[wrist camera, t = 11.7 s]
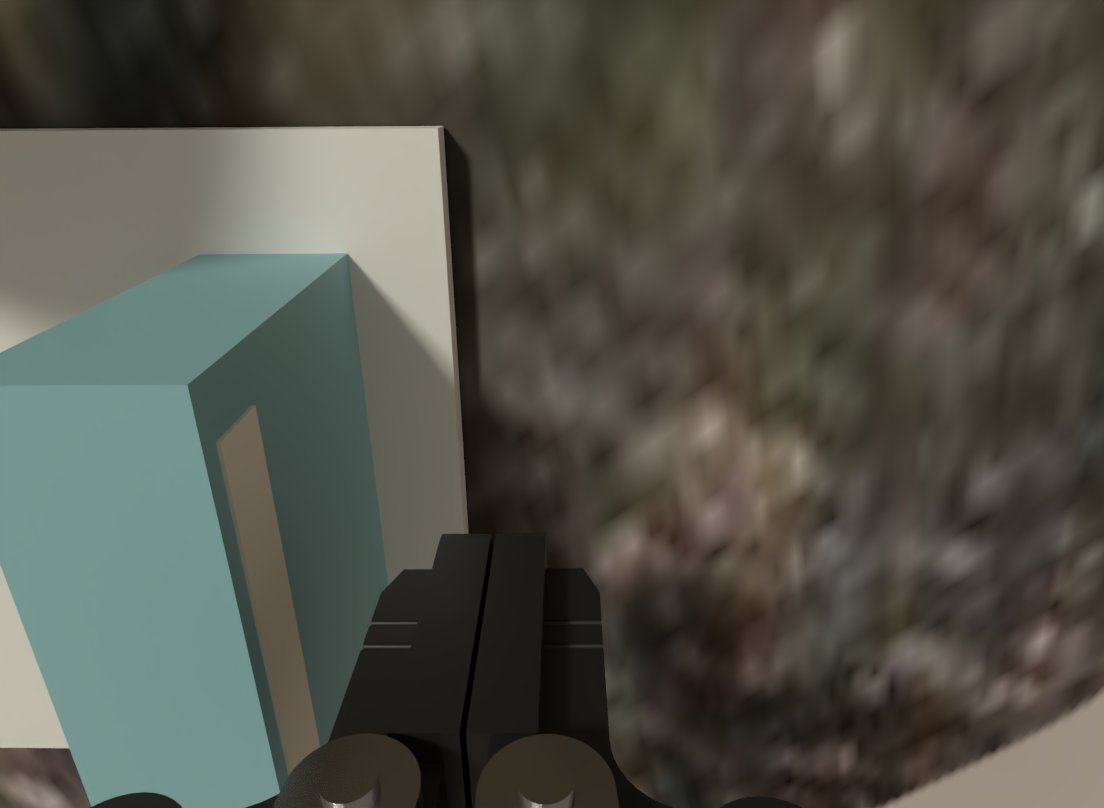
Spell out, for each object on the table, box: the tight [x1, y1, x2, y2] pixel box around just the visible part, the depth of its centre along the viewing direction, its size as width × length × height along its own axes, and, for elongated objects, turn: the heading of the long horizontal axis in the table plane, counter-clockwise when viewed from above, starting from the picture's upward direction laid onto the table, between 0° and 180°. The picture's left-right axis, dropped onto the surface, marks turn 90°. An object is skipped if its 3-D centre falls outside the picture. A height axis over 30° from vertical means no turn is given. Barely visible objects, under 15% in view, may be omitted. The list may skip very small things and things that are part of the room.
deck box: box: [0, 253, 388, 808], centre depth 12 cm, size 8×3×6 cm, turn 1°
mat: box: [0, 126, 469, 748], centre depth 15 cm, size 14×13×1 cm
